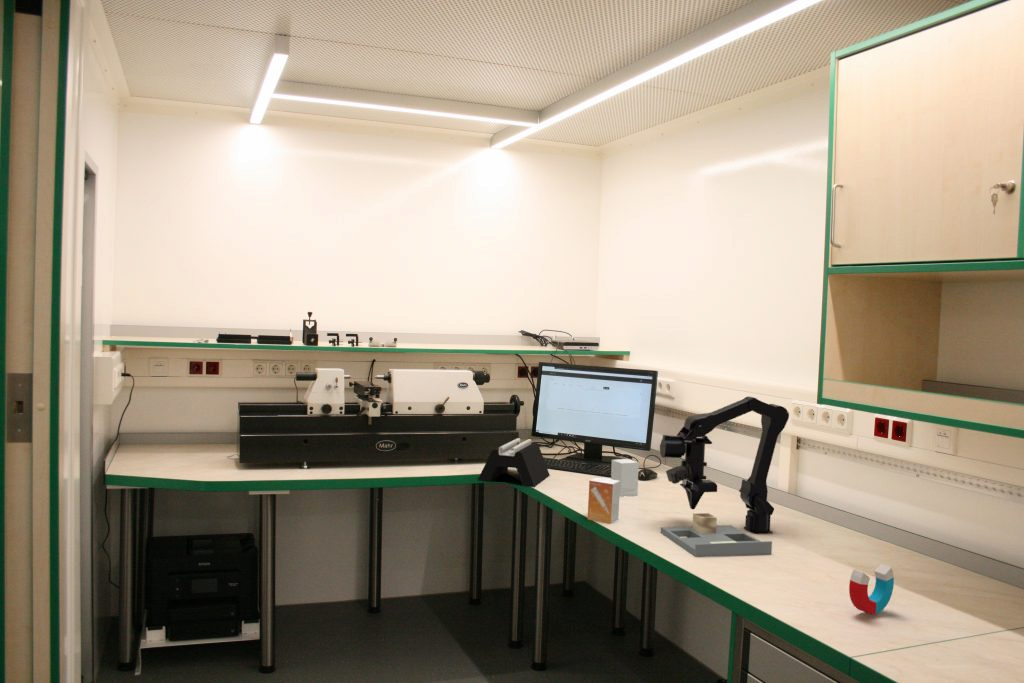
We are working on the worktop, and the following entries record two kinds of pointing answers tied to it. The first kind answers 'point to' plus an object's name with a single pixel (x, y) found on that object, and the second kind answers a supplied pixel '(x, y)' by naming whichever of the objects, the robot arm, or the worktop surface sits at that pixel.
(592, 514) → the small box
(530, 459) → the device stand
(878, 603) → the magnet
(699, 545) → the board
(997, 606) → the worktop surface
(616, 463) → the supplement box
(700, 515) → the maple block
